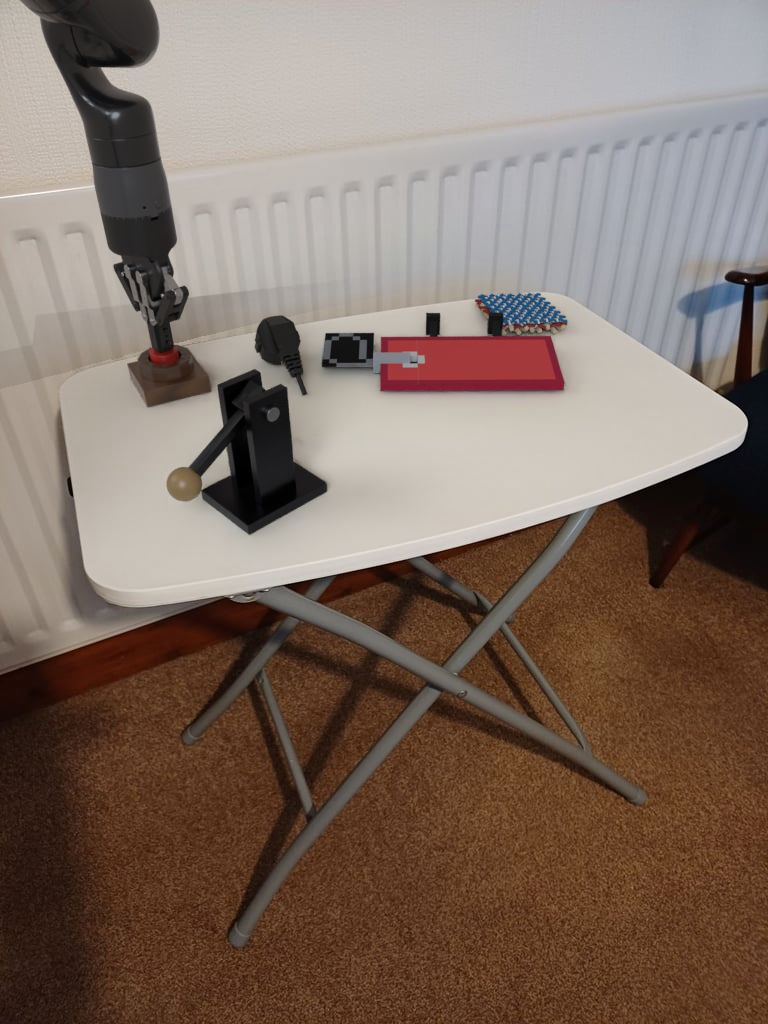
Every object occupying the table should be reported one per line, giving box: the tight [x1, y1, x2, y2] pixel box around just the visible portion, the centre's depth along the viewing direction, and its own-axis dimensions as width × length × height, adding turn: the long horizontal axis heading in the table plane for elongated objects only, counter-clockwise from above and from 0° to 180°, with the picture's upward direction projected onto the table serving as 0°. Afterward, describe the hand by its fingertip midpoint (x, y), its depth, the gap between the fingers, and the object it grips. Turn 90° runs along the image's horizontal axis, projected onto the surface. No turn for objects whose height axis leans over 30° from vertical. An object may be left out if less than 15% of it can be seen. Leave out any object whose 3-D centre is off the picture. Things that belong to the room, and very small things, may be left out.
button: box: [149, 344, 180, 364], centre depth 96 cm, size 3×3×2 cm
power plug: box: [254, 314, 308, 396], centre depth 100 cm, size 6×8×12 cm
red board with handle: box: [321, 312, 566, 392], centre depth 101 cm, size 30×3×15 cm
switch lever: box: [165, 381, 267, 503], centre depth 73 cm, size 13×3×3 cm, turn 135°
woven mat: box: [474, 292, 569, 336], centre depth 111 cm, size 10×11×2 cm
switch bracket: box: [200, 368, 328, 536], centre depth 77 cm, size 10×8×13 cm
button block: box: [126, 344, 212, 408], centre depth 97 cm, size 8×8×4 cm
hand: (163, 349), depth 95 cm, fingers closed
